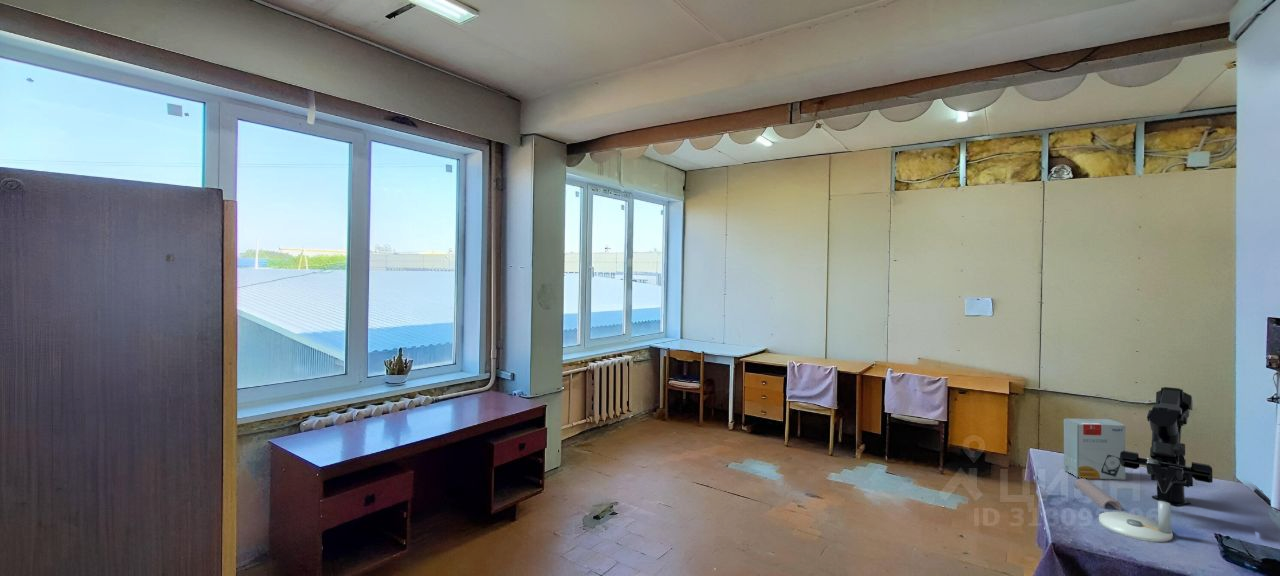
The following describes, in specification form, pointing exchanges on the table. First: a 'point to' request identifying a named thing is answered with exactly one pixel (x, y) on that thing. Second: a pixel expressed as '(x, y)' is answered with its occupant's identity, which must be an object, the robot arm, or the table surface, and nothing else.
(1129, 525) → the desk lamp base
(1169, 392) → the robot arm
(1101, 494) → the coil
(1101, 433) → the hard drive box
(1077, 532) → the table surface
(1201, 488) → the table surface
